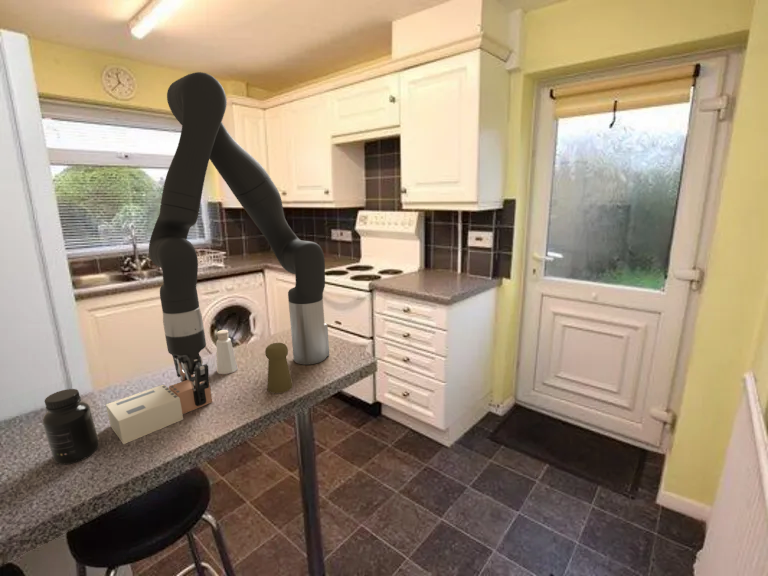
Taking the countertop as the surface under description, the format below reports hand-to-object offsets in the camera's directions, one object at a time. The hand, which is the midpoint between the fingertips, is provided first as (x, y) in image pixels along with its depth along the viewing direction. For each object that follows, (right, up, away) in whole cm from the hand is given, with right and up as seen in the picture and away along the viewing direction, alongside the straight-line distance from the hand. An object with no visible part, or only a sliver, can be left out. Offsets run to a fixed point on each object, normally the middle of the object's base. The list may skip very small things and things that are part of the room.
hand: (195, 399), depth 89 cm
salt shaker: (+1, +3, +17) cm, 17 cm away
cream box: (-7, -3, -7) cm, 10 cm away
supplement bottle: (-14, -6, -16) cm, 22 cm away
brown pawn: (+17, +1, +7) cm, 19 cm away
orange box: (0, -1, 0) cm, 1 cm away
